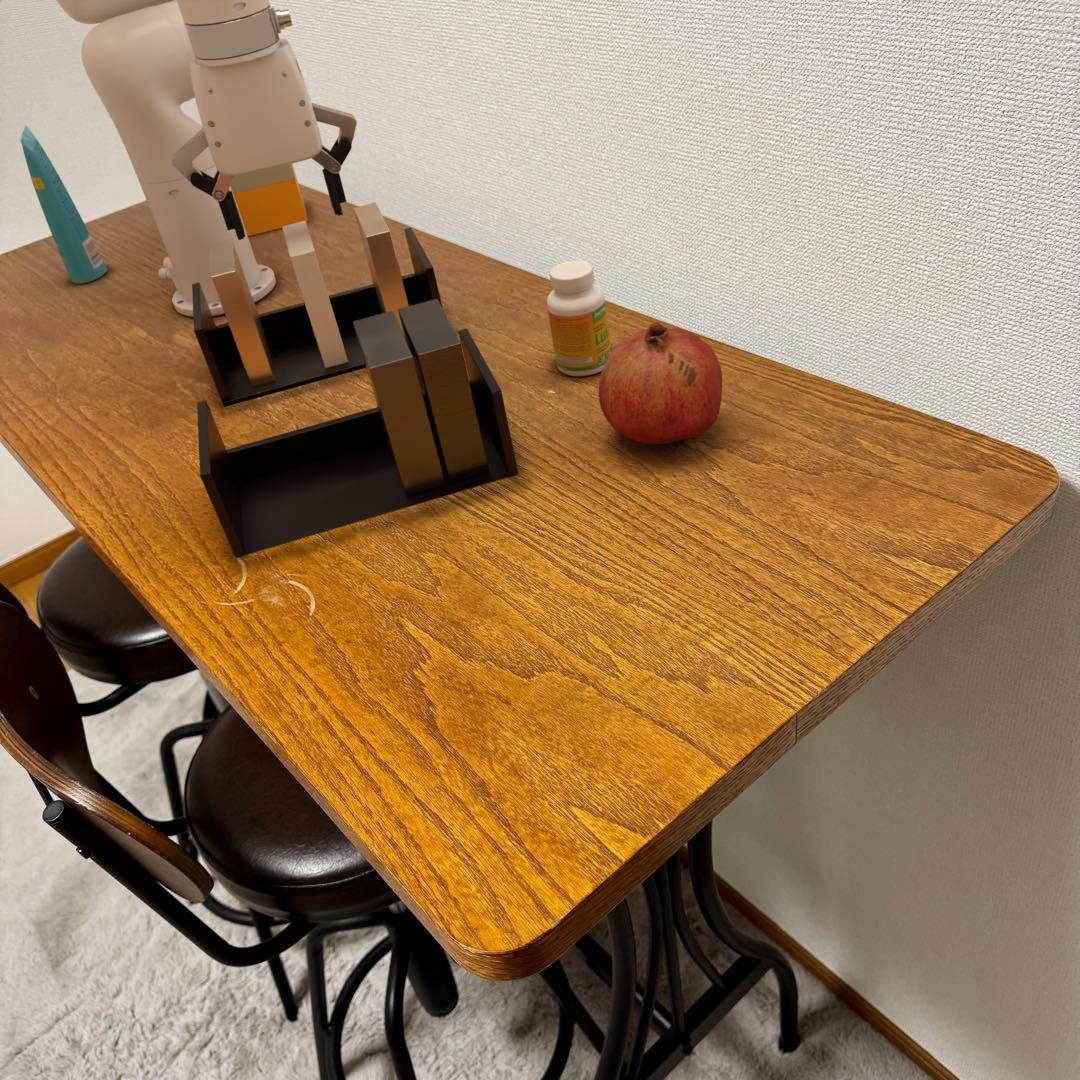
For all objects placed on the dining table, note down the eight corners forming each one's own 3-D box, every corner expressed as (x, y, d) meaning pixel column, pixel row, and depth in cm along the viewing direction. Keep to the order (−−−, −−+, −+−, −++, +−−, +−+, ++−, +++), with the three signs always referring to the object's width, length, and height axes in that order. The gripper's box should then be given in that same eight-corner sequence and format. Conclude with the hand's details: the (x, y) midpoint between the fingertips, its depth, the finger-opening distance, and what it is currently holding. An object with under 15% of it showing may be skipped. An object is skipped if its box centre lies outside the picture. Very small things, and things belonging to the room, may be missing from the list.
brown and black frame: (225, 411, 104) (178, 291, 96) (221, 360, 114) (177, 247, 106) (452, 348, 107) (424, 227, 99) (429, 304, 117) (402, 190, 109)
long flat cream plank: (325, 368, 106) (290, 257, 99) (315, 332, 113) (282, 226, 106) (348, 362, 106) (314, 250, 99) (337, 326, 114) (305, 220, 106)
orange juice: (244, 218, 149) (194, 71, 137) (305, 203, 150) (260, 56, 138) (245, 237, 143) (193, 85, 131) (308, 221, 144) (262, 69, 132)
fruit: (752, 435, 87) (749, 326, 81) (657, 484, 83) (645, 375, 77) (673, 389, 94) (664, 287, 88) (582, 433, 91) (566, 330, 85)
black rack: (239, 567, 83) (180, 430, 75) (232, 489, 93) (179, 360, 85) (520, 484, 86) (491, 343, 78) (486, 416, 96) (457, 285, 88)
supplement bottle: (608, 377, 98) (595, 281, 92) (552, 379, 99) (536, 284, 93) (616, 348, 102) (604, 254, 96) (562, 351, 103) (547, 258, 97)
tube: (70, 272, 143) (4, 130, 131) (105, 262, 144) (43, 119, 132) (72, 291, 137) (4, 143, 126) (109, 280, 138) (45, 133, 127)
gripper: (325, 7, 96) (369, 189, 106) (135, 47, 93) (200, 230, 104) (336, 23, 90) (381, 215, 101) (134, 67, 87) (203, 258, 98)
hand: (289, 222), depth 102 cm, fingers open, 9 cm apart
